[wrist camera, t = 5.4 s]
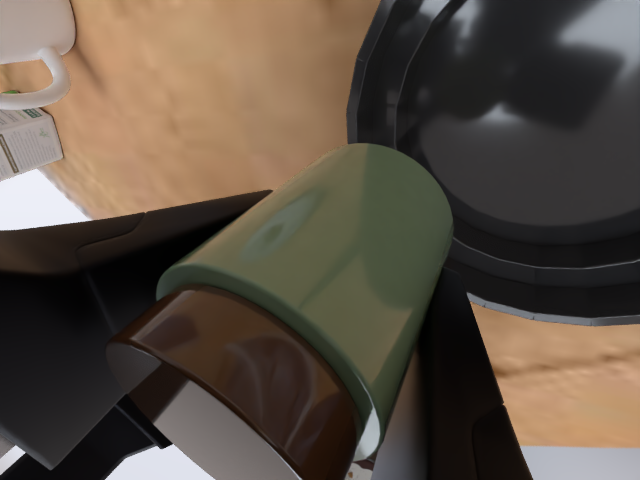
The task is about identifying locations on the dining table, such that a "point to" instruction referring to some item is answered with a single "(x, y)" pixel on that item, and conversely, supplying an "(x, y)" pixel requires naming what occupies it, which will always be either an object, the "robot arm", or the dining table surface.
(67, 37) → the cup
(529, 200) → the black frying pan
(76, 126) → the dining table surface
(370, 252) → the spice jar
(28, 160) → the syrup box
